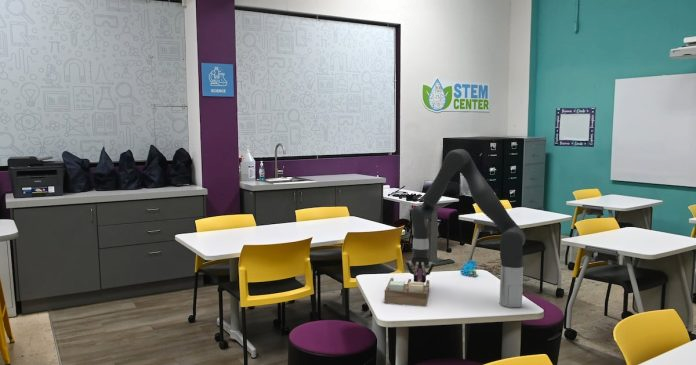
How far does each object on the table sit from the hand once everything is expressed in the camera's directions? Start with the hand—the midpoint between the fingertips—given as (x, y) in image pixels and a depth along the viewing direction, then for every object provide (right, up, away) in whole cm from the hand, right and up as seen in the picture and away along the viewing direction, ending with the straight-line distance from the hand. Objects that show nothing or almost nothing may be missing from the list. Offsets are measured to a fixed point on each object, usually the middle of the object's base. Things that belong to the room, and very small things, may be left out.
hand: (419, 282), depth 258 cm
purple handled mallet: (-2, -3, -12) cm, 12 cm away
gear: (+29, -1, +26) cm, 39 cm away
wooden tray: (-7, -4, -15) cm, 17 cm away
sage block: (-13, -1, -20) cm, 24 cm away
